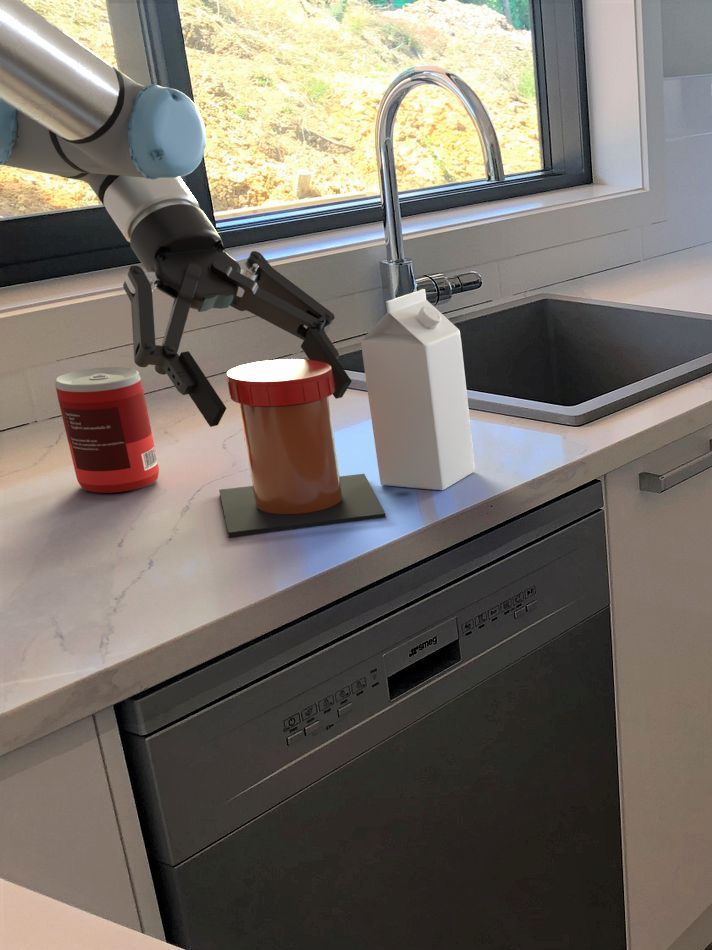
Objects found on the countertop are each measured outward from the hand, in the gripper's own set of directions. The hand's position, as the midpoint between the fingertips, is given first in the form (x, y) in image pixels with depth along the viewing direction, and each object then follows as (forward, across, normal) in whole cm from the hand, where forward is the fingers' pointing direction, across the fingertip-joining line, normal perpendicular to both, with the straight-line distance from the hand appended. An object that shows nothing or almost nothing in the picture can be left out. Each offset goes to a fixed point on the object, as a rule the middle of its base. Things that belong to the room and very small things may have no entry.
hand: (283, 403), depth 133 cm
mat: (+7, 0, -7) cm, 10 cm away
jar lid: (-2, 0, +2) cm, 3 cm away
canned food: (-7, +6, -22) cm, 24 cm away
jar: (+7, 0, -7) cm, 10 cm away
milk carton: (+10, -13, -5) cm, 17 cm away
